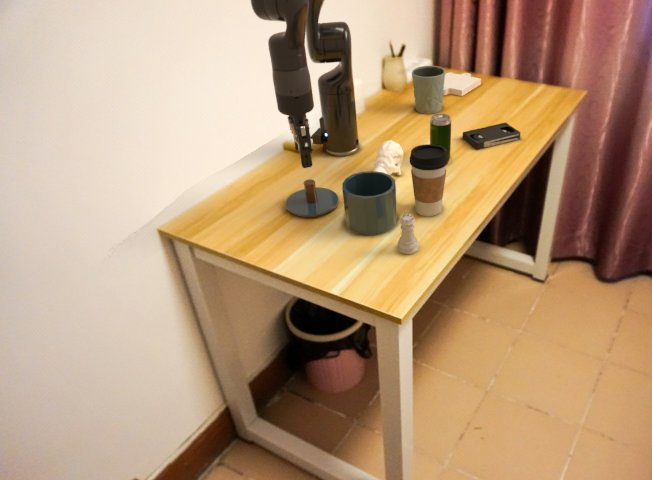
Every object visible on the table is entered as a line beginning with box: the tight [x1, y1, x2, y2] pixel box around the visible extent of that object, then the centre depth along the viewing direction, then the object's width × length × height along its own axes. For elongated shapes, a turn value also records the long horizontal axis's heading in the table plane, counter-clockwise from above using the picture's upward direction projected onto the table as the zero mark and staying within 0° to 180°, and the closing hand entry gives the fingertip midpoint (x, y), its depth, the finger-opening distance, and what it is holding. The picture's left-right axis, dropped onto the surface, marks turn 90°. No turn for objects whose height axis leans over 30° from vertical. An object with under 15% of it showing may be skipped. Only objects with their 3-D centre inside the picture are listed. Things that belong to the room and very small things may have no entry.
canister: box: [341, 170, 398, 236], centre depth 119 cm, size 11×11×10 cm
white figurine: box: [372, 139, 405, 176], centre depth 134 cm, size 6×8×12 cm
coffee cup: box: [409, 143, 449, 217], centre depth 120 cm, size 8×8×15 cm
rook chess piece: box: [397, 213, 420, 255], centre depth 111 cm, size 4×4×8 cm
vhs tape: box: [462, 122, 521, 150], centre depth 152 cm, size 14×8×2 cm, turn 114°
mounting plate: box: [443, 71, 482, 97], centre depth 186 cm, size 18×13×2 cm
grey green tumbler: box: [411, 65, 446, 115], centre depth 168 cm, size 10×10×12 cm
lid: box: [285, 178, 339, 218], centre depth 126 cm, size 12×12×6 cm
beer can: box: [429, 113, 452, 163], centre depth 140 cm, size 5×5×12 cm
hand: (303, 158), depth 121 cm, fingers open, 8 cm apart
